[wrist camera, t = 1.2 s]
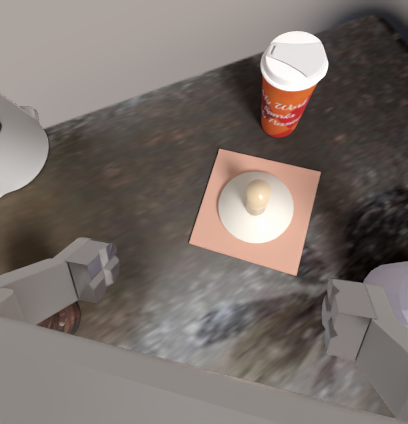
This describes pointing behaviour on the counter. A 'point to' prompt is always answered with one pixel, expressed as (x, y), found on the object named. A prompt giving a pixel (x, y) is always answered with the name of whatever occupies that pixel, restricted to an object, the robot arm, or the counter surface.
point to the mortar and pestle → (64, 320)
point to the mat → (265, 252)
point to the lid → (255, 207)
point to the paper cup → (289, 80)
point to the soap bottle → (393, 287)
